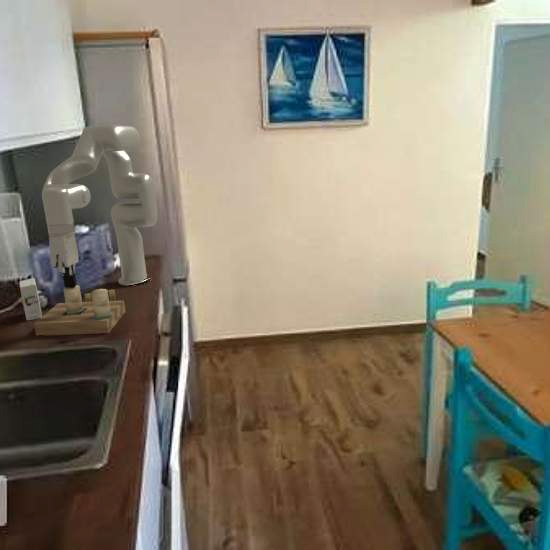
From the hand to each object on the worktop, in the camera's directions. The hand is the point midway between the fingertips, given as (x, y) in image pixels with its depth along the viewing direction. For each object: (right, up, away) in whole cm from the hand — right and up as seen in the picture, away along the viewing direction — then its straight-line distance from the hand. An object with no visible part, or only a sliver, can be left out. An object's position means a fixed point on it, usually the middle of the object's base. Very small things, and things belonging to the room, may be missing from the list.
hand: (71, 286), depth 161 cm
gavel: (-1, -5, +29) cm, 30 cm away
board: (+3, -12, +3) cm, 12 cm away
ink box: (-17, -10, +12) cm, 24 cm away
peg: (+1, -12, +4) cm, 12 cm away
